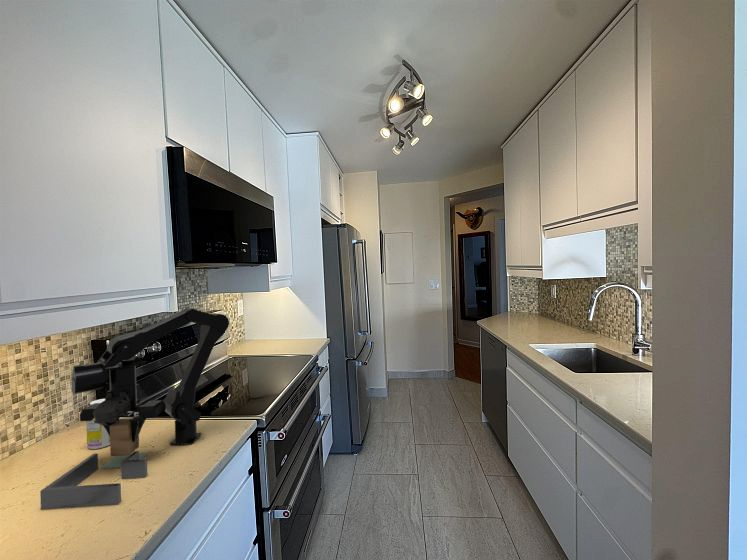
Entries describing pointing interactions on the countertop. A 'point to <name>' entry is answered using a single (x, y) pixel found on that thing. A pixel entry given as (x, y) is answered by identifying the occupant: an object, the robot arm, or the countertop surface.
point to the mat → (119, 461)
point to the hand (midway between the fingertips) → (124, 442)
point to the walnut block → (122, 438)
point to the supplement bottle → (96, 433)
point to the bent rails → (71, 495)
